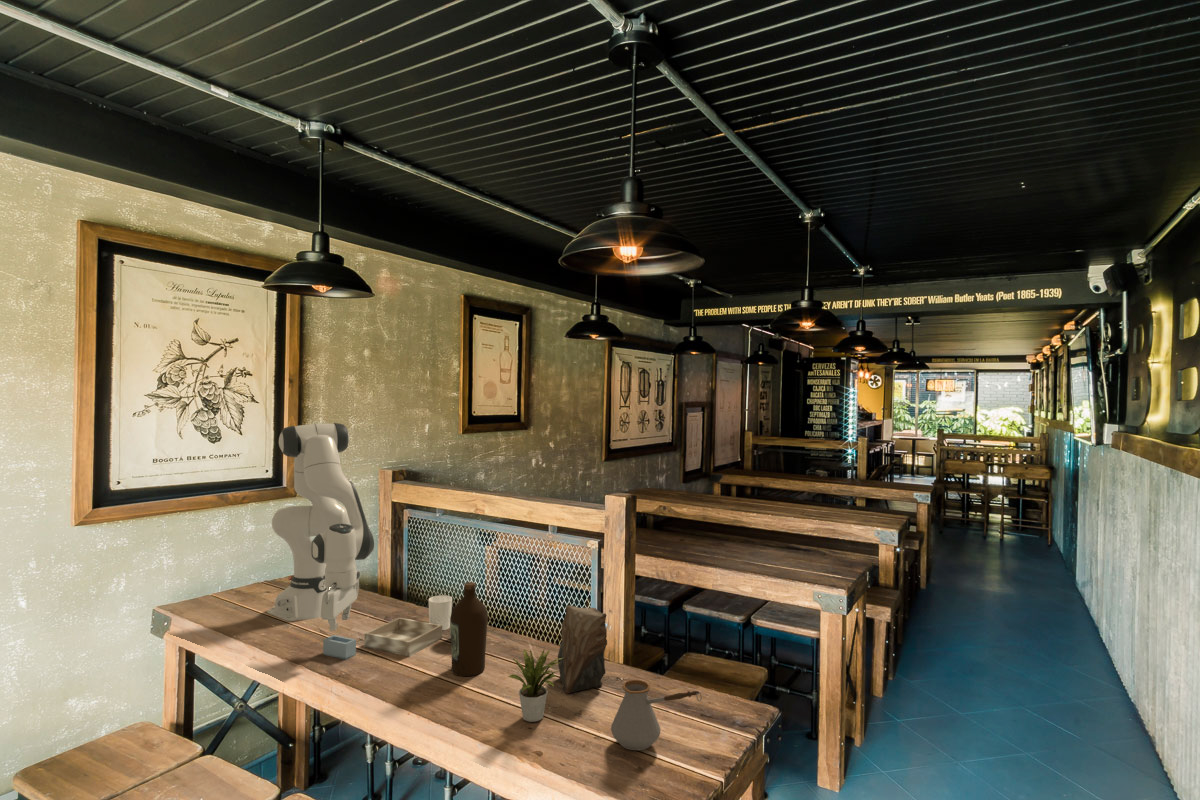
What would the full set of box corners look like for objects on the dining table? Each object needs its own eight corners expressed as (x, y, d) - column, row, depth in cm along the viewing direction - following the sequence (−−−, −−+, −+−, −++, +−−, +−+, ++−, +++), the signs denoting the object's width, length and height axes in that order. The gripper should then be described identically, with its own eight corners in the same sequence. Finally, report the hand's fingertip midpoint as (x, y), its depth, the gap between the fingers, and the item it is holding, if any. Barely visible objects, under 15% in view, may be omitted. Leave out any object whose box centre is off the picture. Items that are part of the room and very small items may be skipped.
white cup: (437, 633, 208) (438, 604, 208) (423, 628, 213) (423, 599, 213) (456, 627, 214) (456, 598, 214) (441, 622, 219) (442, 593, 219)
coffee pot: (601, 746, 141) (602, 680, 141) (624, 723, 151) (625, 662, 151) (690, 774, 131) (691, 703, 131) (708, 748, 141) (709, 681, 141)
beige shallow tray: (364, 647, 195) (364, 633, 195) (398, 630, 210) (399, 617, 210) (409, 657, 189) (409, 642, 189) (442, 639, 203) (442, 625, 204)
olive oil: (481, 659, 188) (483, 576, 188) (491, 673, 178) (492, 586, 178) (446, 665, 183) (447, 580, 183) (453, 680, 174) (455, 590, 174)
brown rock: (556, 673, 179) (557, 604, 179) (598, 669, 182) (599, 601, 182) (564, 693, 166) (565, 619, 167) (610, 689, 170) (611, 615, 170)
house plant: (553, 737, 145) (554, 667, 145) (497, 731, 147) (498, 661, 147) (567, 707, 159) (568, 643, 159) (515, 702, 161) (516, 639, 161)
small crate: (323, 655, 189) (323, 639, 189) (333, 651, 192) (333, 634, 192) (345, 660, 185) (346, 644, 185) (355, 656, 189) (356, 639, 189)
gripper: (337, 588, 179) (336, 637, 178) (362, 570, 199) (361, 613, 199) (315, 588, 178) (314, 637, 178) (342, 570, 199) (341, 613, 199)
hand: (339, 624), depth 189 cm, fingers open, 8 cm apart
